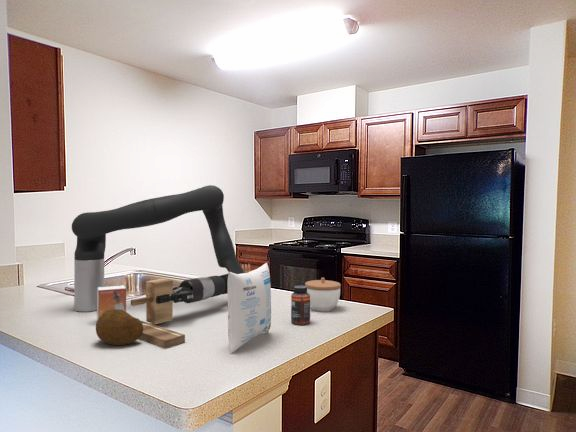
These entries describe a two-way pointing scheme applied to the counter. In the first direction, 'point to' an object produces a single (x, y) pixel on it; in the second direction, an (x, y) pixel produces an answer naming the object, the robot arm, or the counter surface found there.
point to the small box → (110, 299)
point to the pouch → (248, 305)
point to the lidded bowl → (323, 294)
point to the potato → (118, 327)
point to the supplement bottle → (300, 306)
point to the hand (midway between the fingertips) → (151, 298)
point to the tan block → (154, 310)
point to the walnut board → (161, 336)
